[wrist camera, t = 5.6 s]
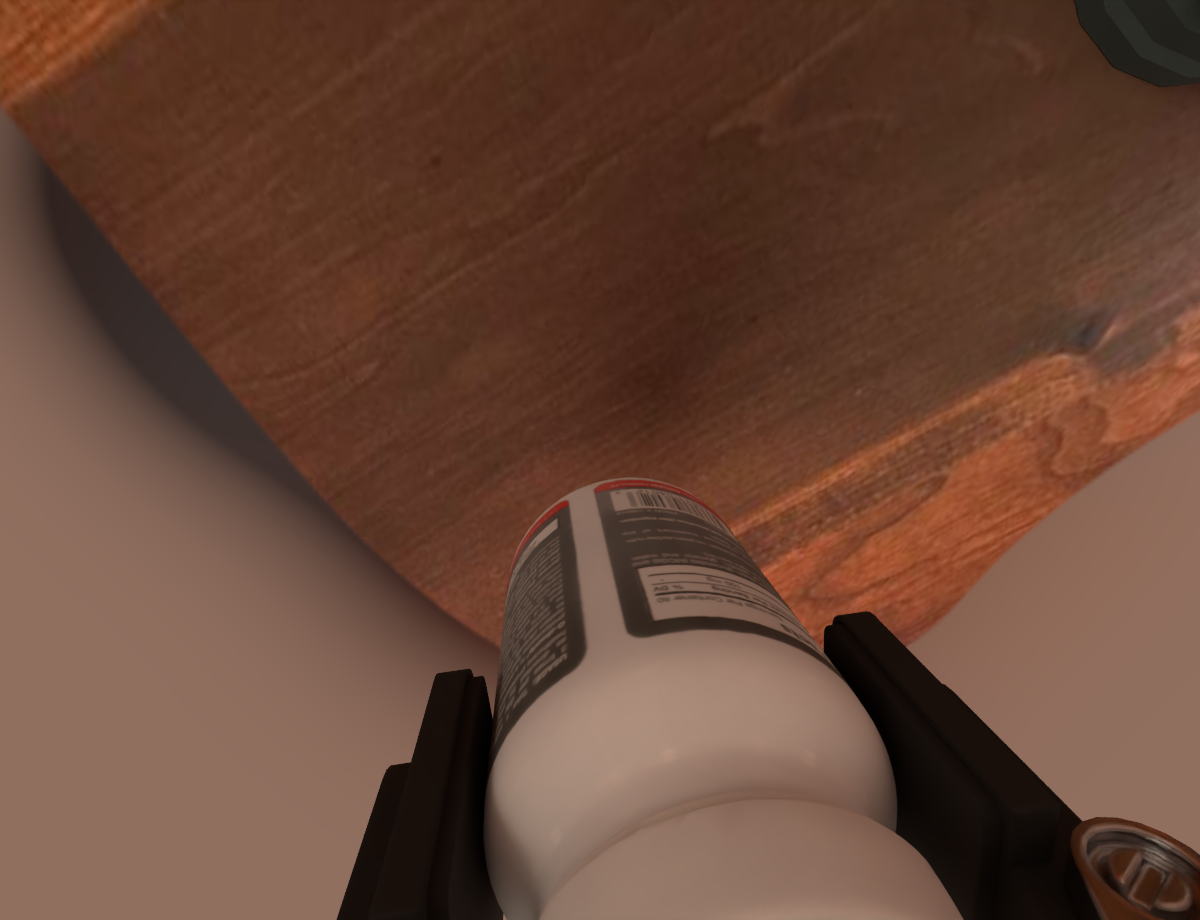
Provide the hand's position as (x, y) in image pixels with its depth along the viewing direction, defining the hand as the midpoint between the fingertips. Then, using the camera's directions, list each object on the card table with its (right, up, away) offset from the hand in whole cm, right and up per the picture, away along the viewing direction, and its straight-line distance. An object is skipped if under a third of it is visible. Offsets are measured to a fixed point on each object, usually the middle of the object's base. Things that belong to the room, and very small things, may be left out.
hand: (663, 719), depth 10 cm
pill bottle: (0, +1, +5) cm, 5 cm away
